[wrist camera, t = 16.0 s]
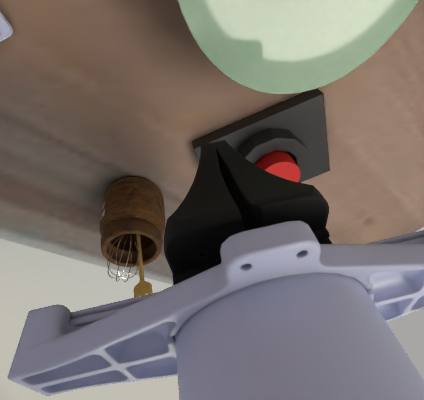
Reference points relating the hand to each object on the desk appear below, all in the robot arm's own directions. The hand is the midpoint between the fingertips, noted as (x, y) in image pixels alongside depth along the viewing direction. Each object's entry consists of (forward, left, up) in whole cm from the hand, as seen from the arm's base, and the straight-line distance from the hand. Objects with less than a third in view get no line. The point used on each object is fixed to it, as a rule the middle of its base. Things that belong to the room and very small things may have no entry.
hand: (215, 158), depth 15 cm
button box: (+4, -9, -10) cm, 14 cm away
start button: (+4, -9, -8) cm, 12 cm away
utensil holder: (-10, -8, -11) cm, 17 cm away
